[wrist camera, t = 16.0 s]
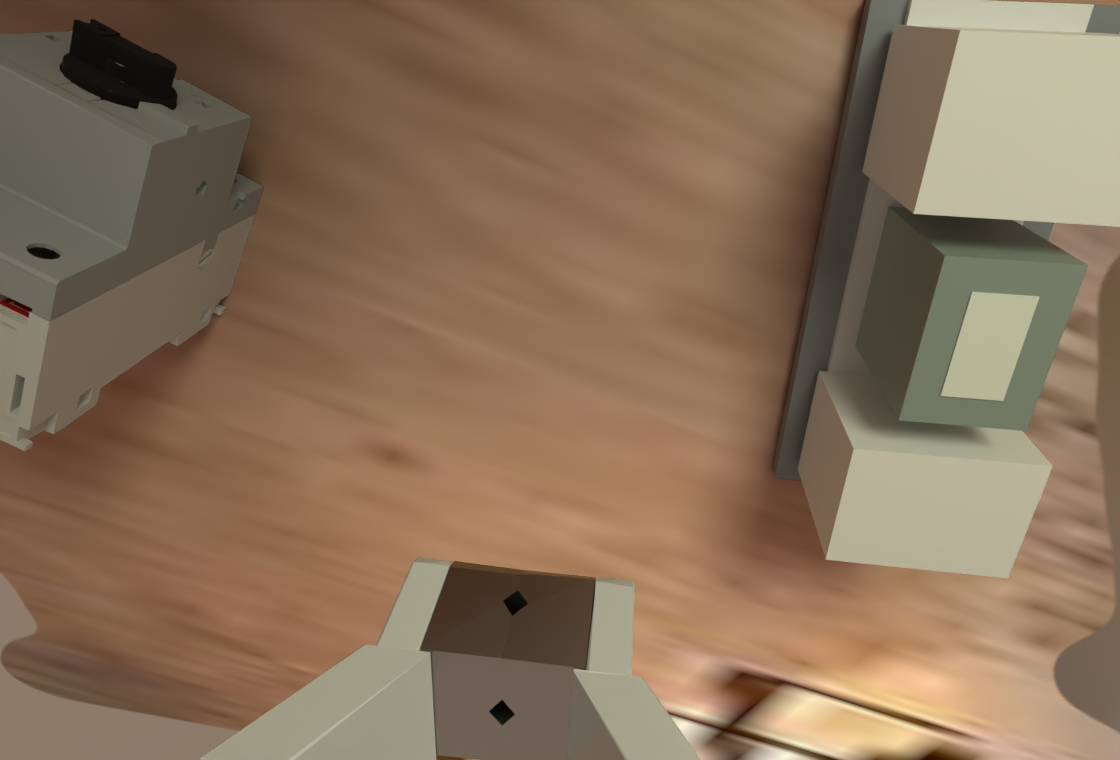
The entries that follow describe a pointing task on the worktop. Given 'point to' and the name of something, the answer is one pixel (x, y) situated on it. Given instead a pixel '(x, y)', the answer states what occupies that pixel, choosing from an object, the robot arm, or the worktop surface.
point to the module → (965, 318)
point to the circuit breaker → (106, 217)
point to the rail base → (948, 190)
